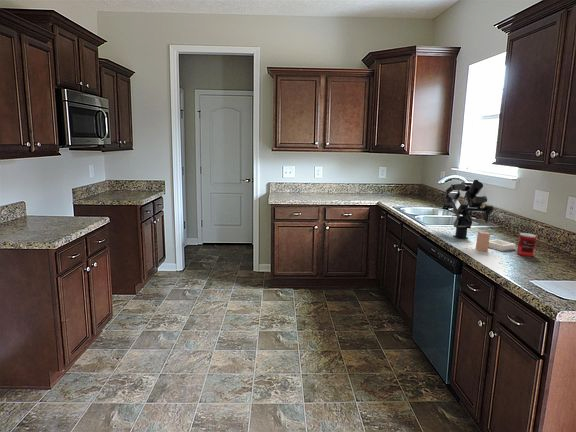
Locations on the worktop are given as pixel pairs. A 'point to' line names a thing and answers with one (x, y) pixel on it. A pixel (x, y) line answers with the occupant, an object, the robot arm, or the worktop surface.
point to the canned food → (526, 244)
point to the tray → (501, 245)
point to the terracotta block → (482, 241)
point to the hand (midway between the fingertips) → (478, 221)
